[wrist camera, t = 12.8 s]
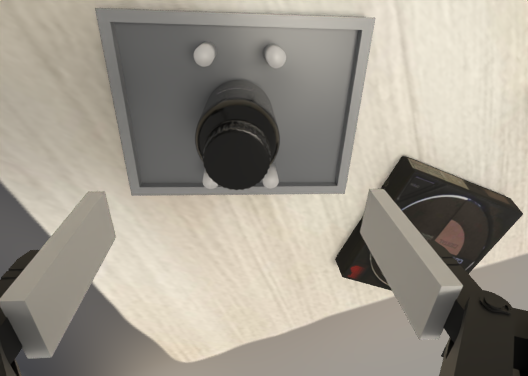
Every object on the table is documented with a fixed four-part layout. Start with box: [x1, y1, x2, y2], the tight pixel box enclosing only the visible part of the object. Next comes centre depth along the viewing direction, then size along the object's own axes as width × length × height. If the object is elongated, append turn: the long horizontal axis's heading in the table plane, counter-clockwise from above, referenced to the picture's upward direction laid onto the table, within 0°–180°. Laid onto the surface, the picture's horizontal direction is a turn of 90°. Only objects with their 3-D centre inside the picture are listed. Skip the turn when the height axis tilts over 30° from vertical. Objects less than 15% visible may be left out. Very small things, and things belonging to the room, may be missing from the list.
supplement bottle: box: [195, 80, 280, 190], centre depth 27 cm, size 7×7×12 cm
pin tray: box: [95, 8, 375, 196], centre depth 31 cm, size 24×18×6 cm
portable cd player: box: [335, 157, 523, 290], centre depth 42 cm, size 16×17×4 cm
